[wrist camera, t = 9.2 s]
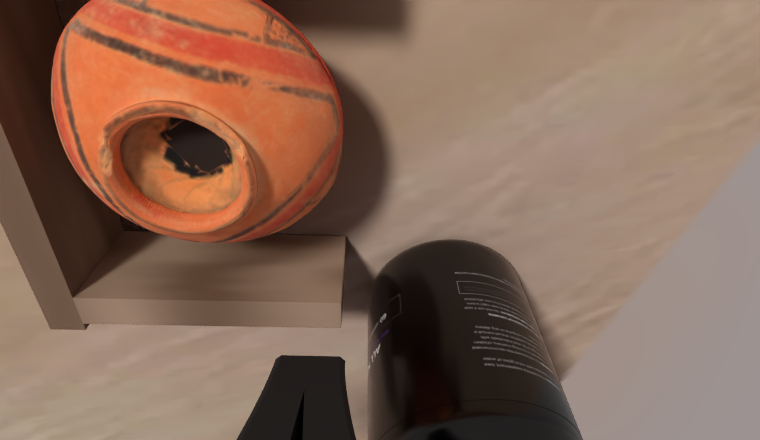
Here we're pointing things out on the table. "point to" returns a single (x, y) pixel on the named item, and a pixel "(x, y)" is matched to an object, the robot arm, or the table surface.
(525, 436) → the supplement bottle
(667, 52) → the table surface
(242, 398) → the table surface
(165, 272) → the cradle
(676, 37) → the table surface
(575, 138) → the table surface
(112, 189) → the pot
